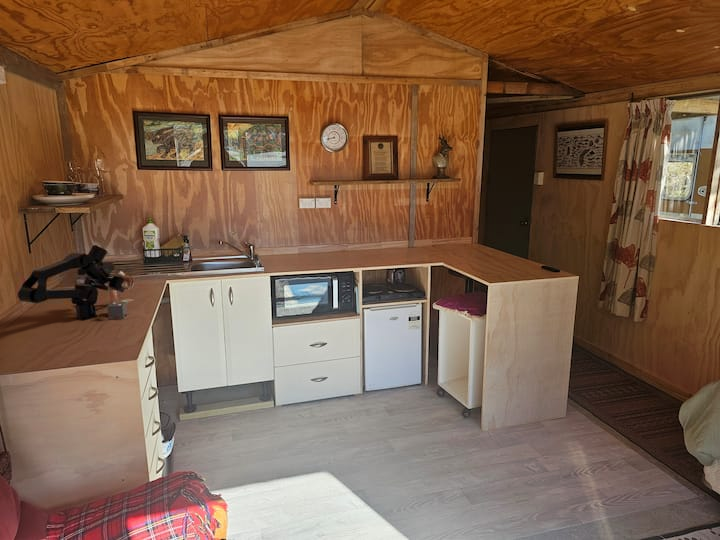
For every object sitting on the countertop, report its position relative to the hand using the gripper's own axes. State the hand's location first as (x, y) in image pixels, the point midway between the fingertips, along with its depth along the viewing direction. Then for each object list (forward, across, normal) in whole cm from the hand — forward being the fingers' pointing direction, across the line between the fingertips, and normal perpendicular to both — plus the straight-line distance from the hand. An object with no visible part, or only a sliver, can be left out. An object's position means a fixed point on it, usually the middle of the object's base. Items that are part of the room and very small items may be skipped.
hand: (115, 290), depth 234 cm
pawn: (+4, 0, +6) cm, 7 cm away
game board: (+7, 0, +4) cm, 8 cm away
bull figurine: (+27, +23, -16) cm, 39 cm away
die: (-3, -13, +14) cm, 19 cm away
